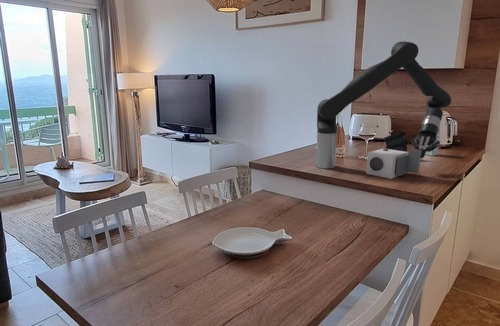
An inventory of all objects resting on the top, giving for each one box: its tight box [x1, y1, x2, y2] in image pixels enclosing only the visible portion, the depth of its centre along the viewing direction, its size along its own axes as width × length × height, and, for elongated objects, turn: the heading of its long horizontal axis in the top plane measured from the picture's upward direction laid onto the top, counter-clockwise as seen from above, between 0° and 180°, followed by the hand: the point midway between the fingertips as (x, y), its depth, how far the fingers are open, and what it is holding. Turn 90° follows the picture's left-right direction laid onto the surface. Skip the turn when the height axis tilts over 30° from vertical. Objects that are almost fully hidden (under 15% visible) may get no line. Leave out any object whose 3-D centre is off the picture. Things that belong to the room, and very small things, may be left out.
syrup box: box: [425, 129, 441, 157], centre depth 198 cm, size 6×6×14 cm
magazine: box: [383, 130, 409, 152], centre depth 191 cm, size 4×13×15 cm, turn 35°
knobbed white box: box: [365, 147, 409, 180], centre depth 158 cm, size 12×15×11 cm
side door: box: [396, 148, 421, 177], centre depth 151 cm, size 6×10×11 cm, turn 130°
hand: (420, 157), depth 156 cm, fingers closed
